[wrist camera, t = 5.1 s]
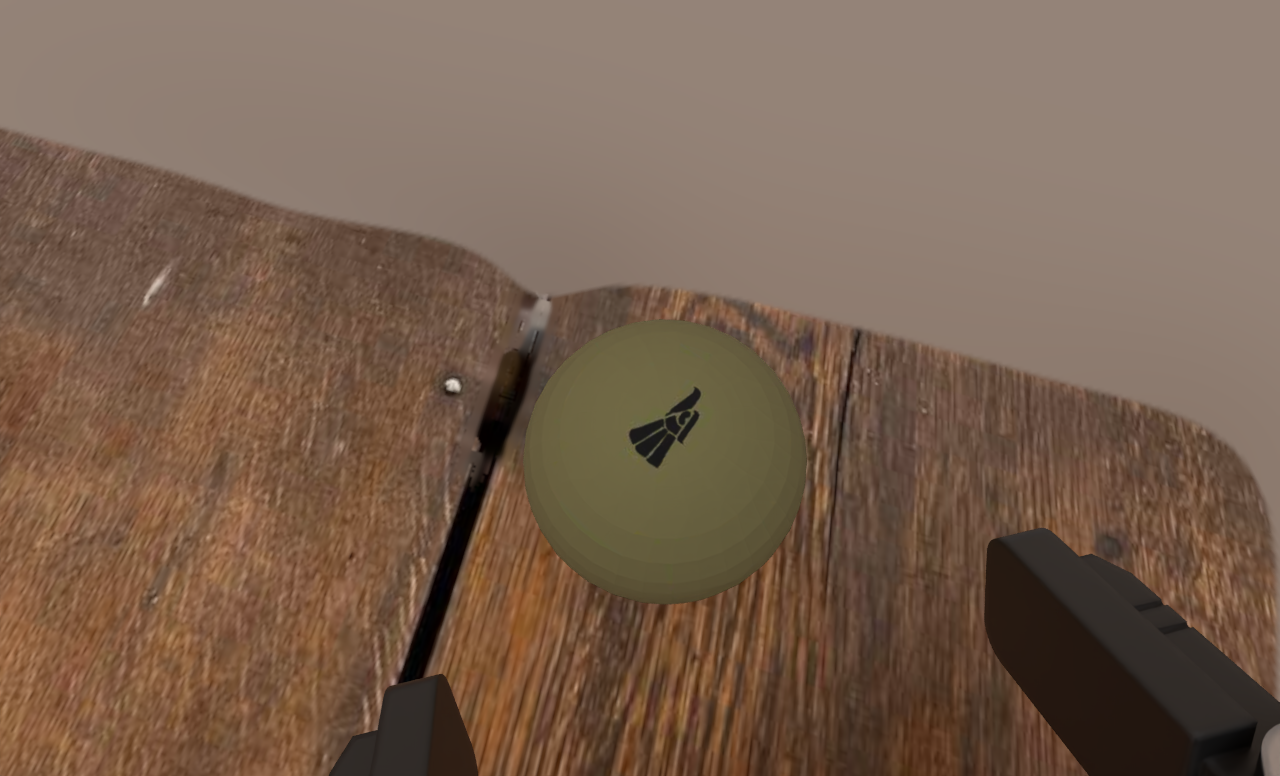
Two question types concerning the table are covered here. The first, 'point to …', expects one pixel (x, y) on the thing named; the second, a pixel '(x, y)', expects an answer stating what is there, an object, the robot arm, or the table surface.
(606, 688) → the table surface
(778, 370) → the table surface
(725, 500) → the light bulb
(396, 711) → the robot arm
